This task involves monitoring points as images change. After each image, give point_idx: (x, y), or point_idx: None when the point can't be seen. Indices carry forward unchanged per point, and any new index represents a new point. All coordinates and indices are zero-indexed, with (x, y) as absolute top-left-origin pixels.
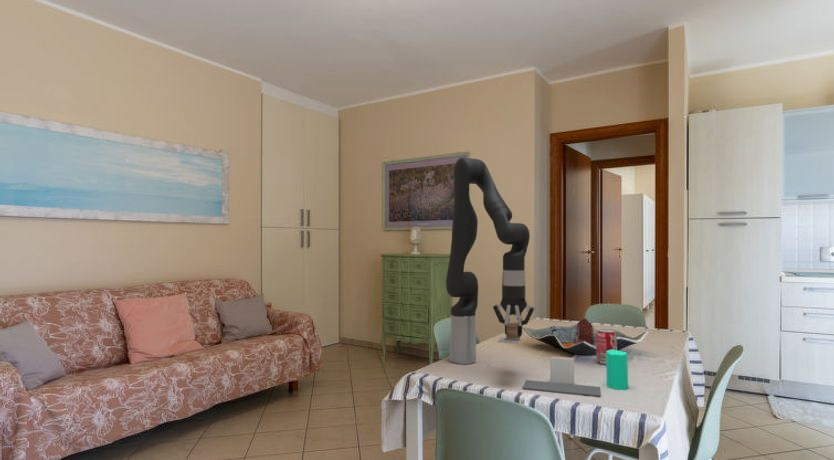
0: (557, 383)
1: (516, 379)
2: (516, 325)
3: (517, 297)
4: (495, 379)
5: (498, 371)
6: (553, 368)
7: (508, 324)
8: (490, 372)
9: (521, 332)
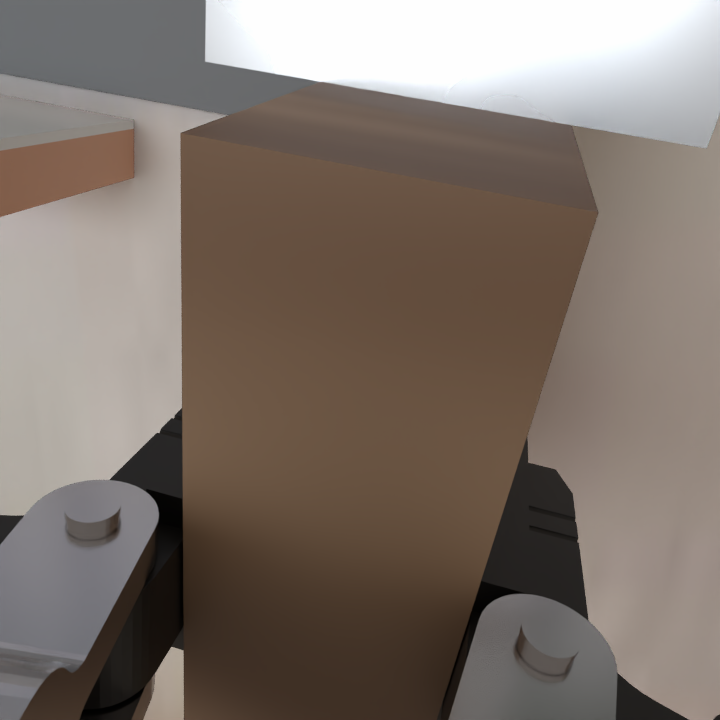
0: (65, 64)
1: None
2: (215, 509)
3: None
4: (649, 160)
5: (582, 428)
6: (19, 126)
7: (469, 632)
8: (668, 393)
9: (179, 422)
